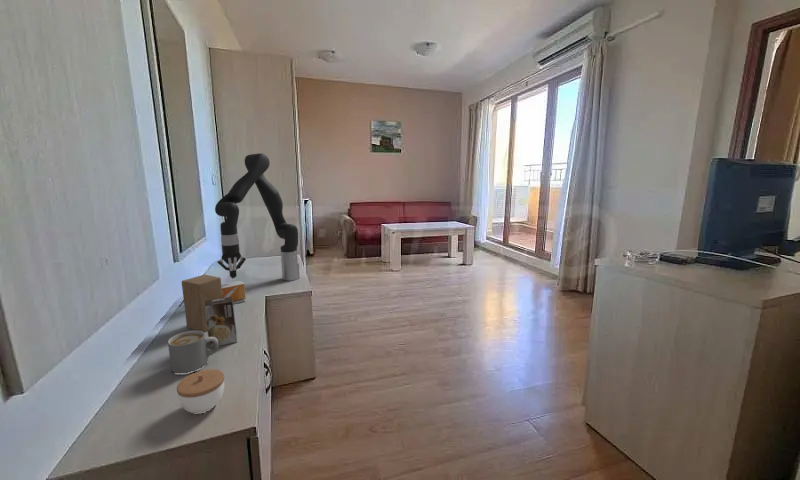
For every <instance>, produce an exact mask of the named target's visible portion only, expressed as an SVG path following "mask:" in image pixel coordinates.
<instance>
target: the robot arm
mask: <svg viewBox="0 0 800 480" xmlns="http://www.w3.org/2000/svg"><path fill="white" fill-rule="evenodd" d="M244 166H245V168H246V170H247V172H246V173H245V174H244V175H243V176H242V177H240V178H239V179H238V180H236V182H234V184H233V185H232V187H231V188H230V190H229V191H228V193H226V194H225V195H224V196H223V197H222V198H220V200H219V201H217V202H216V204H215V208H214V211H215V214H216V215H217V216H218V217H224V218H226V219H225V221H223V222H221V223H220V243H221V254H222V255H221V256H220V257H221V258H220V259H219V260H217V261H216V262H217V264H219V266H221V268H223V269H224V270H225V271H227V272H228V271H229V277H230V278H232V279H235V278H236V277H238V276H237V270H239V269H241V267H242V266H243V265H244V263H245V262H246V260H247V259H246V257H243V256H242V254H241V253H240V252H241V251H240V240H239V236H238V220H239V215H240V209H239V206H238V205H237V204H240V203H241V202H243V200H244V199H245V197H246V195H247V194H248V192H249V191H250V189H251V188H252V187H253V186H254V184H255V186H256V188H257V190H258V192H259V193H260V196H261V198H262V201H263V203H264V205H265V207H266V209H267V211H268V213H269V214H268V215H269V216H270V218H271V220H272V223H273V226H274V229H275V232H276V235H277V236H278V238H280V239H283V240H284V244H283V245H281V246H280V260H281V261H280V262H281V263H280V264H281V277H282V280H283V281H286V282H287V281H295V280H298V279H301V278H300V277H301V276H300V263H299V262H298V260H299V259H298V246H299V231H298V227H297V226H296V225H295V224H291V223H288V222H287V221H286V219H285V217H284V215H283V207H284V205H283V203H284V202H283V200H282V197H281V195H280V193H279V191H278V189H277V188H276V187H275V185H273V184H272V183H271V182H270V181H269V180H268V179H267V178H266V177H265V175H264V174H265V173H266V171H267V170H268V169H269V168H270V159H269V157H268V156H267V155H266V154H264V153H252V154H248V155H246V156H245V157H244ZM224 263H226V264H227V266H226V265H225V264H224Z"/></svg>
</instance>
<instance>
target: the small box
mask: <svg viewBox="0 0 800 480" xmlns="http://www.w3.org/2000/svg"><path fill="white" fill-rule="evenodd" d="M221 287H222V297H223V298H226V297H232V298H233V302H234V301H238V300H242V299H244V300H246V286H245V283H244V282H243V281H241V280H236V281H232V282H227V283H226V282H225V283H221Z"/></svg>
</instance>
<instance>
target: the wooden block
mask: <svg viewBox="0 0 800 480" xmlns="http://www.w3.org/2000/svg"><path fill="white" fill-rule="evenodd" d="M221 284H222V279H221V277H219V276H215V275H214V276H213V275H208V274H202V275H197V276H195V277H191V278H187V279H184V280H181V290H182V296H183V305H184V312H185V313H184V314H185V321H186V328H187V327H188V329H190V328H191V329H190V330H193V329H194V330H193V331H196V330H197V331H202V332H204V333H205V332H208V329H207V321H206V313H205V300H212V299H219V298H223V297H222V287H221Z"/></svg>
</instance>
